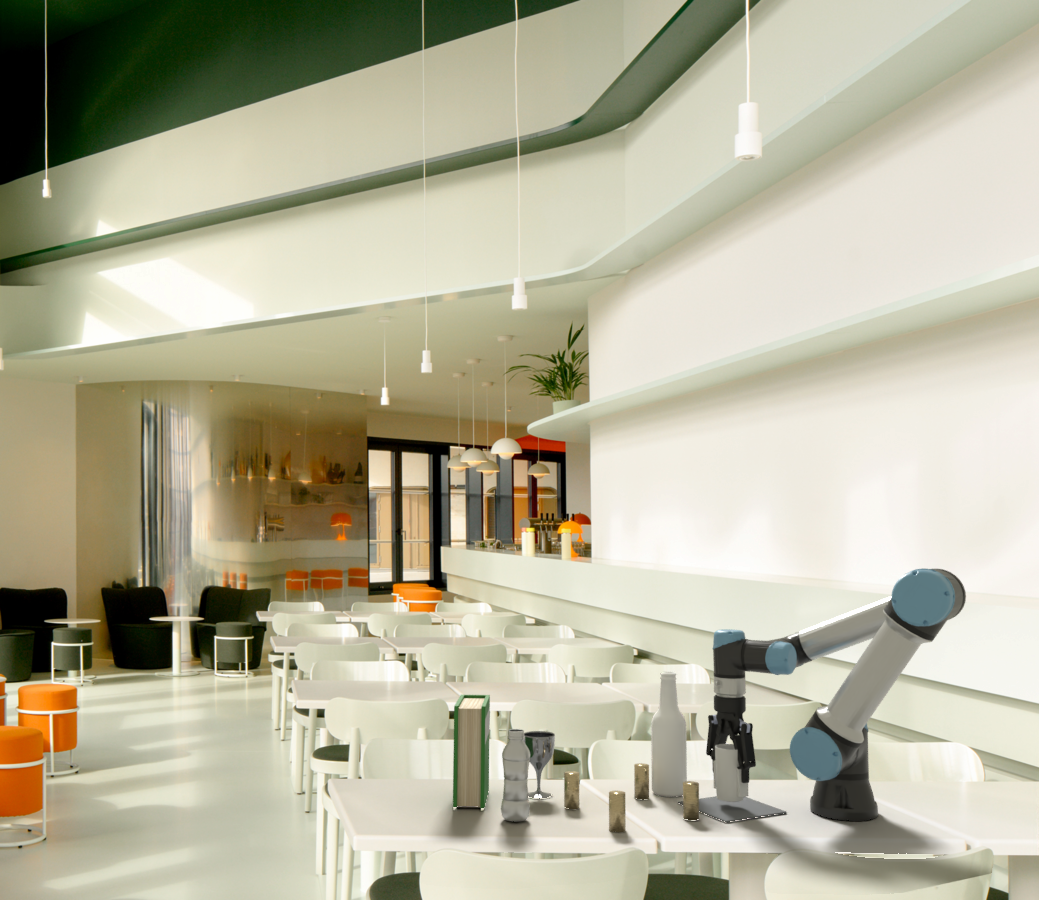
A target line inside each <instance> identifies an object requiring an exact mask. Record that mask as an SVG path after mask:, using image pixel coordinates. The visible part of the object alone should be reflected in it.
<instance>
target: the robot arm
mask: <svg viewBox="0 0 1039 900" xmlns="http://www.w3.org/2000/svg"><path fill="white" fill-rule="evenodd" d="M966 594H967V593H966V589H965V585H964V584H963V582H962V581H961V580H960V578H959V577H958V576H957V575H955V574H954V573H952V572H951V571H948V570H945V569H942V568H915V569H912V570H910V571H909V572H907V573H904V574H903V575H901V577H899V578H898V579H897V580H896V583H894V585H893V588H892V591H891V595H889V596H886V597H883V598H880V599H879V600H876V601H873V602H871V603H868V604H866V605H863V606H861V607H858V608H855V609H852V610H851V611H847V612H846V613H842V614H840V615H838V616H835V617H833V618H830V619H828V620H825V621H822V622H819V623H818V624H816V625H813V626H810V627H807V628H804V629H802V630H799V631H796V632H794V633H792V634H789V635H787V636H784V637H781V638H775V639H769V640H760V639H759V640H758V639H757V640H755V639H747V638H746V634H745V632H744V631H743V630H740V629H717V630H716V631H714V633H713V644H712V651H713V652H712V653H713V654H712V655H713V692H714V693H715V694H714V696H713V709H714V711H715V712H716V714H710V715H709V714H708V715H707V716H708V717H707V720H708V729H707V730H708V731H707V738H706V739H707V740H706V741H707V742H706V750H705V751H706V752H705V753H706V755H707V756H709V757H710V759H711V760H712V773H713V789H715V790H716V763H715V746H716V745H718V744H727V740H728V737H729V739H730V740H731V741H732V744H733V745H734V748H735V750H738V763H739V767H737V797H749V783H750V769H751V768H754V767H756V766H757V763H756V753H755V747H754V739H753V730H754V729H753V727H754V724H753V723H752V722H748V723H747V722H745V721H744V720H745V719H744V715H743V714H744V713H745V712H746V710H747V707H746V706H747V705H746V704H747V703H746V701H747V700H746V697H745V696H744V695H745V694H746V693H747V691H746V690H747V688H746V687H747V686H746V685H747V684H746V672H749V673H750V672H753V673H762V674H770V675H772V674H773V675H774V676H775V675H776V676H779V675H783V676H785V675H786V676H787V675H788V676H790V675H792V674H793V673H794V671H795V669H796V668H799V667H802V666H803V665H804V664H807V663H811V662H812V661H815V660H818V659H821V658H824V657H825V656H829V655H831V654H833V653H836V652H839V651H842V650H844V649H848V648H850V647H853V646H855V645H858V644H861V643H864V642H867V641H869V640H871V641H870V642H869V644H868V645H867V646H866V648H865V649H864V651H863V653H862V654H861V656H860V657H859V659H858V660H857V661H856V663H855V665H854V666H853V667H852V669H851V670H850V672H849V673H848V675H847V676H846V678H845V679H844V681H843V683H842V684H841V685H840V687H839V688H838V689H837V691H836V693H835V694H834V696H833V698H832V699H831V700H830V702H828V703H829V704H827V705H823V706H819V707H817V708H816V709H815V711H814V712H813V714H812V715H811V717H810V718H809V720H808V721H807V723H806V724H805V726H804V727H802V728H800V729H799V730H797V731H796V732H795V733H794V734H793V736H792V738H791V740H790V744H789V755H790V757H791V758H790V759H791V762H792V763H793V765H794V767H795V768H796V770H797V771H798V772H799V773H801V774H802V776H804V777H806V778H807V779H809V780H812V781H815V784H814V785H813V787H814V788H813V792H812V796H810V799H809V807H810V809H809V810H810V811H811V812H812V813H813V812H814V813H813V814H815V815H817V814H818V815H817V816H820V815H821V816H820V817H823V818H826V817H827V818H826V819H831V818H832V820H837V819H838V820H840V821H846V820H849V822H861V821H862V822H864V820H865V821H871V820H874V819H877V818H878V816H879V807H878V803H877V801H876V799H875V796H874V791H873V790H872V786H871V782H870V775H869V774H870V773H869V772H870V771H869V769H870V768H869V767H870V764H869V734H868V733H869V728H868V722H869V721H870V719H871V718H872V716H873V715H874V713H875V712H876V710H877V709H878V707H879V706H880V704H881V703H882V701H884V699H885V698H886V696H887V695H888V693H889V691H890V690H891V689H892V687H893V685H894V684H895V682H896V681H897V680H898V678H899V677H900V676H901V674H902V672H903V671H904V670H905V668H906V667H907V665H909V662H910V661H911V659H912V658H913V656H915V653H916V652H917V651H918V649H919V648H920V646H921V645H923V644H927V643H932V642H933V641H934V640H935V638H936V637H937V635H938V634H939V633H940V632H941V630H942V629H943V627H944V626H945V624H946V623H947V621H950V620H952V619H953V618H955V617H957V616H959V614H960V613H961V611H962V610H963V608H964V606H965V604H966V599H967V595H966ZM743 762H744V763H743ZM870 819H871V820H870Z"/></svg>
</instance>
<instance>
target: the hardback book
mask: <svg viewBox="0 0 1039 900" xmlns="http://www.w3.org/2000/svg"><path fill="white" fill-rule="evenodd" d="M490 696H491V695H490V694H460V695H459V697H458V699H457V701H456V702H455V704H454V706H453V707H454V709H453V714H454V715H453V761H452V762H453V763H452V764H453V765H452V766H453V769H452V770H453V771H452V772H453V773H452V775H453V776H452V779H453V780H452V808H453V807H457V806H478V807H477V808H484V807H485V808H486V806H485V803H486V804H487V801H486V799H487V800H488V797H487V795H488V796H489V793H488V791H489V792H490V719H491V718H490V717H491V716H490V713H491V712H490V709H491V708H490V707H491V702H490V701H491V697H490Z"/></svg>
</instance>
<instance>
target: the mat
mask: <svg viewBox="0 0 1039 900" xmlns="http://www.w3.org/2000/svg"><path fill="white" fill-rule="evenodd" d="M678 803H680V804H682V805H683V800H682V801H681V800H680V801H677V804H678ZM682 805H681V806H682ZM699 811H700V812H702V813H705V814H707V815H709V816H712V817H714V818H717V819H720V820H722V821H725V822H730V821H735V820H742V819H747V818H755V817H761V816H768V815H774V814H782V815H784V814H783V813H788V812H787V810H784V809H780V808H777V807H776V806H775V807H774V806H772V805H769V804H767V803H764V802H760V801H759V800H756V799H752V798H750V797H748V796H746V797H744V798H743V800H742V801H739V802H727V801H722V800H719V799H718V798H717V795H715V796H709V797H702V798H699ZM709 816H708V817H709ZM714 818H713V819H714Z"/></svg>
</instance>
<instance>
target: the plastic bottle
mask: <svg viewBox="0 0 1039 900" xmlns="http://www.w3.org/2000/svg"><path fill="white" fill-rule="evenodd" d="M524 733H525V730H524V729H521V728H511V729H508V730H507V739H508V742H507V743H506V745H505V746H504V748H503V751H502V753H501V759H502V766H503V767H502V768H503V778H504V779H503V783H504V784H503V794H502V799H501V805H500V812H501V816H502V818H503V820H505V821H507V822H508V821H509V822H513V821H514V822H515V823H517V822H518V823H519V822H524V821H526V820H528V818H529V816H530V811H531V807H530V801H529V798H528V793H529V791H528V778H529V768H530V751H529V749H528V747H527V746H526V744H525V743H524V741H523V739H525V736H524Z"/></svg>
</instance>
